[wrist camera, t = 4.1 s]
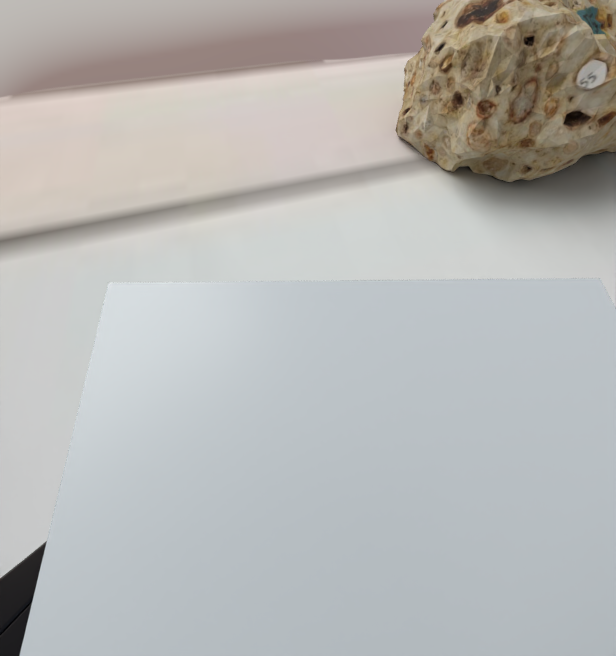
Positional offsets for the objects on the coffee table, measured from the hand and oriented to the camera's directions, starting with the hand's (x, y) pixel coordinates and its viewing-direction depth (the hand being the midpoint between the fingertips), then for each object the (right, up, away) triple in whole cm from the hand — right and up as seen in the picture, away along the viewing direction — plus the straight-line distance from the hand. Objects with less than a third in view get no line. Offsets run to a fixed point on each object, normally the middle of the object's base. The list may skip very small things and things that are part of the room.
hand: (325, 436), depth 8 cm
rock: (+16, +18, +18) cm, 30 cm away
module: (0, -4, +5) cm, 7 cm away
